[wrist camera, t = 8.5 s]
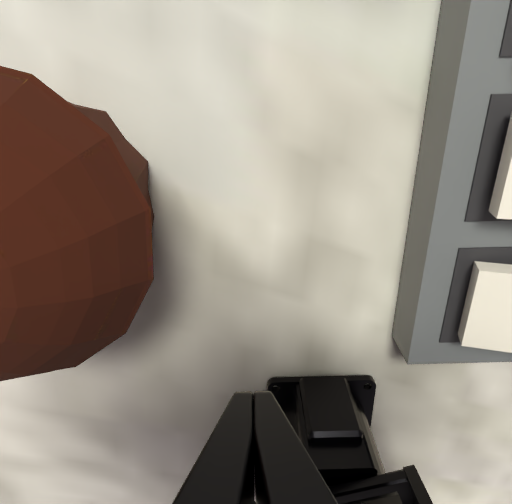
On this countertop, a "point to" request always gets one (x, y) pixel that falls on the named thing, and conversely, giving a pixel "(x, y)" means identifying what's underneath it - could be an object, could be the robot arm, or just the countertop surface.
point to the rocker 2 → (503, 181)
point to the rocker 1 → (488, 308)
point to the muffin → (66, 229)
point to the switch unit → (457, 182)
